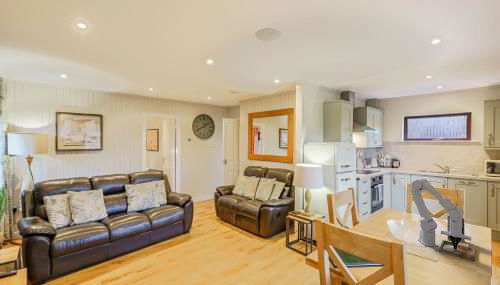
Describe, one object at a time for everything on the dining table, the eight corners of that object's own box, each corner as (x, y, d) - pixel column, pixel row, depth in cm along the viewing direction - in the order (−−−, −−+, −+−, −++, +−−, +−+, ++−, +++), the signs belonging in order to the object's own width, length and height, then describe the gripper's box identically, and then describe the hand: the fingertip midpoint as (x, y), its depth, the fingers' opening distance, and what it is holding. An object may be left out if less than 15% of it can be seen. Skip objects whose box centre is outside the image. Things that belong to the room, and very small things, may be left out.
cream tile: (444, 250, 152) (443, 247, 153) (445, 248, 156) (444, 245, 156) (454, 251, 149) (453, 248, 149) (454, 248, 152) (453, 245, 153)
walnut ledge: (454, 256, 146) (454, 252, 146) (456, 245, 161) (456, 242, 161) (474, 261, 140) (474, 258, 140) (475, 249, 154) (475, 246, 154)
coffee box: (464, 240, 168) (465, 218, 167) (464, 243, 163) (464, 220, 163) (447, 237, 174) (448, 215, 174) (447, 240, 169) (447, 217, 169)
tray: (439, 251, 152) (439, 248, 152) (442, 242, 165) (442, 239, 165) (454, 255, 147) (454, 252, 147) (456, 246, 160) (456, 243, 160)
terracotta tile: (457, 247, 154) (457, 244, 154) (458, 244, 157) (458, 242, 157) (468, 249, 150) (468, 246, 150) (468, 247, 154) (468, 244, 154)
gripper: (440, 225, 152) (439, 246, 153) (471, 232, 142) (470, 254, 143) (441, 222, 157) (441, 243, 158) (471, 228, 147) (471, 250, 148)
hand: (455, 248), depth 150 cm, fingers closed
